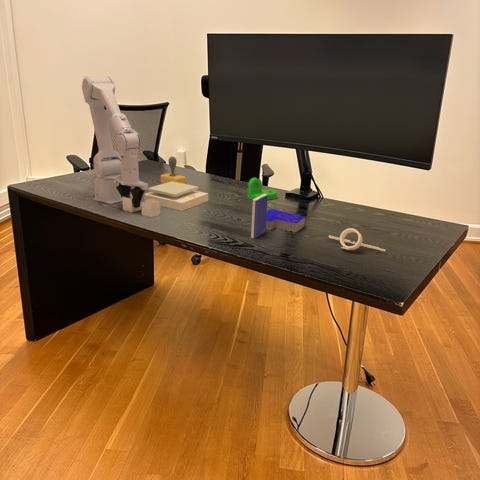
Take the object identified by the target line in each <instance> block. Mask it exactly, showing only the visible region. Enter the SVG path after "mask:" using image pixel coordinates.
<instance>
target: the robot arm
mask: <svg viewBox="0 0 480 480" xmlns="http://www.w3.org/2000/svg"><path fill="white" fill-rule="evenodd" d="M81 90H82V95H83V99H84V103H86V104H87V105H88V106H89V107H88V108H89V110H90V114H91V115H90V116H91V120H92V125H93V128H94V133H95V137H96V141H97V147H98V152H97V153H96V154H95V155H94V157H93V170H94V174H95V175H96V177H95V179H94V181H93V186H94V188H93V189H94V195H95V196H94V198H93V201H97V202H102V203H106V204H108V205H114V204H117V203H120V202H123V201H122V197H123V196H126V195H130V194H132V197H133V204H134V208H138V207H140V203H141V202H142V198H143V197H144V194H145V192H146V190H147V191H148V188H149V183H146V182H144V181H142V180H140V175H139V172H140V171H139V154H138V151H139V149H140V148H141V144H142V141H141V137H140V134H139V132H137V131H136V130H135V129H133V128H132V126H131V124H130V121H129V120H128V118H127V116H126V114H124V113H122V112H121V110H120V107H119V104H118V102H117V101H118V100H117V98H116V96H115V95H116V85H115V81H114V80H113V78H112V77H110V76H97V77H95V76H94V77H93V76H84V78H83V79H82V84H81ZM105 108H106V110H107V112H108V113H109V116H110V119H109V123H110V125H111V127H112V129H113V131H114V133H115V136H116V145H117V146H116V147H117V148H118V151H116V150H115V149H114V145H113V141H112V138H111V133H110V128H109V123H108V119H107V115H106V110H105ZM132 187H133V188H132Z"/></svg>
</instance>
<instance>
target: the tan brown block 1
mask: <svg viewBox="0 0 480 480" xmlns="http://www.w3.org/2000/svg"><path fill="white" fill-rule="evenodd" d="M121 202H122V210H123V211H124V212H129V213H135V212H138V211H142V206H141V203H140V207H138V208H134V204H133V197H132V194H131V193H130V195H126V196H123V197H122V201H121Z"/></svg>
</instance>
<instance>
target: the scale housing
mask: <svg viewBox="0 0 480 480" xmlns="http://www.w3.org/2000/svg"><path fill="white" fill-rule="evenodd" d="M148 199H153V200H157V201H160V207H164V208H168V209H172V210H176V211H180V212H183V211H186V210H188V209H191V208H194V207H196V206H199V205H202V204H204V203H207V202H209V193H208V192H202V191H198V190H195V191H192V192H189V193H186V194H183V195H180V196H177V197H172V196H168V195H164V194H159V193H155V192H150V191H148V192H146V193H144V194H143V201H145V200H148Z"/></svg>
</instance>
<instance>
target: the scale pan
mask: <svg viewBox="0 0 480 480" xmlns="http://www.w3.org/2000/svg"><path fill="white" fill-rule="evenodd" d="M198 190H199V186H197V185H192V184H188V183H187V184H183V183H178V182H174V181H171V182H168V183H164V184H162V183H160V184H158V185H155V186H151V187H148V189H147V191H148V192H155V193H159V194H164V195H168V196H172V197H177V196H180V195H183V194H186V193H189V192H192V191H198Z"/></svg>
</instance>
